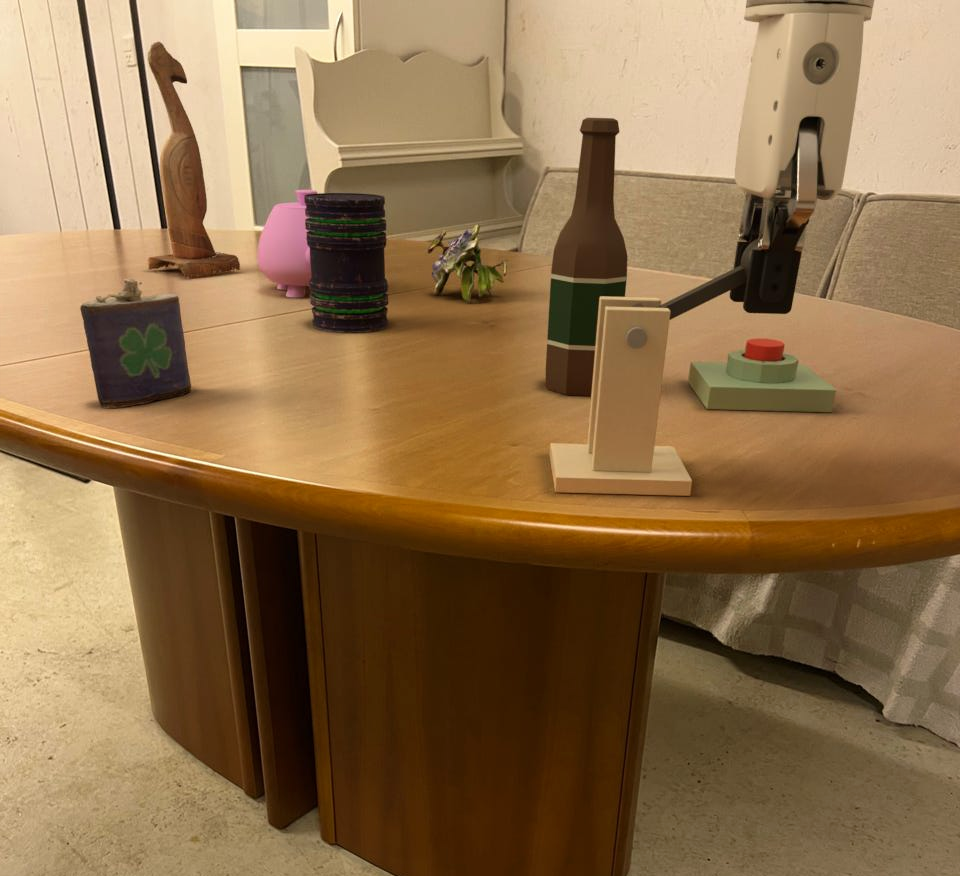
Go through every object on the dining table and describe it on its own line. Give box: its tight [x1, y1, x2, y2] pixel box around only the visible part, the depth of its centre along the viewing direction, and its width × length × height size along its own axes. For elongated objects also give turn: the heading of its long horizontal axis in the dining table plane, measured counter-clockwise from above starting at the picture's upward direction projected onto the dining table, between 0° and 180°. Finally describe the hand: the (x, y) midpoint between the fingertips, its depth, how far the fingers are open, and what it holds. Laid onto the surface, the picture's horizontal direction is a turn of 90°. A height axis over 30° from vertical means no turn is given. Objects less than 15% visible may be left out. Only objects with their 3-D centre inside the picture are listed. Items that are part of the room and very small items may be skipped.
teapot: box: [256, 189, 318, 298], centre depth 135 cm, size 22×16×14 cm
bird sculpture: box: [147, 41, 241, 279], centre depth 145 cm, size 11×12×32 cm
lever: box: [632, 238, 759, 321], centre depth 65 cm, size 13×3×3 cm, turn 89°
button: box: [744, 337, 786, 362], centre depth 91 cm, size 4×4×2 cm
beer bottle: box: [545, 117, 628, 397], centre depth 89 cm, size 8×8×24 cm
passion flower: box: [427, 224, 509, 304], centre depth 137 cm, size 11×11×12 cm
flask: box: [79, 278, 192, 409], centre depth 85 cm, size 9×3×11 cm, turn 136°
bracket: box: [549, 296, 693, 497], centre depth 69 cm, size 10×8×13 cm
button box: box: [687, 348, 837, 413], centre depth 92 cm, size 12×10×4 cm
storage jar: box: [304, 192, 389, 334], centre depth 115 cm, size 10×10×15 cm
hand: (759, 304), depth 65 cm, fingers closed on lever, 3 cm apart
